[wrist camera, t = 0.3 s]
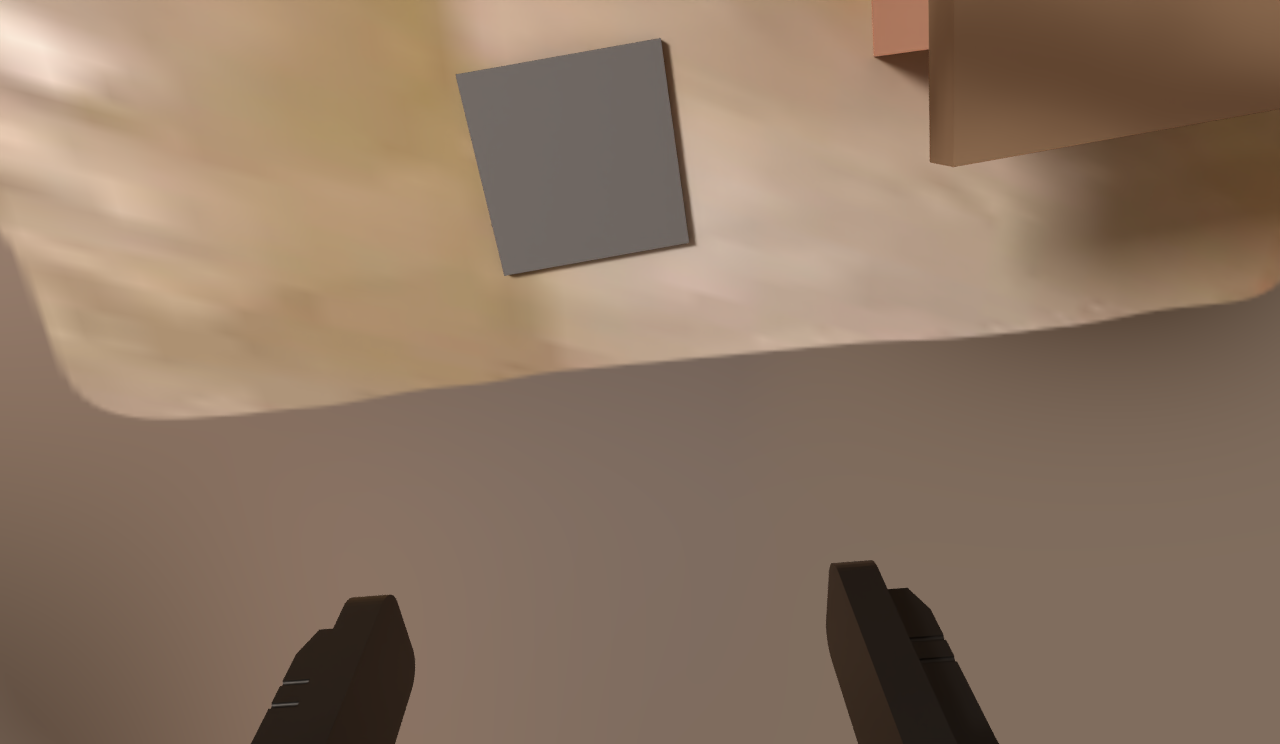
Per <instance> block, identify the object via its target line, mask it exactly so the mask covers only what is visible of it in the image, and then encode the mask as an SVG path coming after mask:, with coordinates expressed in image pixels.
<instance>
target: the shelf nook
mask: <svg viewBox="0 0 1280 744" xmlns="http://www.w3.org/2000/svg"><path fill="white" fill-rule="evenodd" d="M928 2H929V118H930V162H931V163H936V164H941V165H946V166H951V167H956V166H962V165H968V164H973V163H979V162H984V161H990V160H996V159H1001V158H1007V157H1012V156H1018V155H1024V154H1029V153H1035V152H1041V151H1046V150H1052V149H1057V148H1063V147H1069V146H1074V145H1080V144H1086V143H1091V142H1097V141H1102V140H1108V139H1114V138H1119V137H1125V136H1130V135H1136V134H1142V133H1147V132H1153V131H1159V130H1164V129H1170V128H1175V127H1181V126H1187V125H1192V124H1198V123H1203V122H1209V121H1215V120H1220V119H1226V118H1232V117H1237V116H1243V115H1248V114H1254V113H1260V112H1265V111H1271V110H1277V109H1280V0H928Z"/></svg>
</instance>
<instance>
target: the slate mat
mask: <svg viewBox="0 0 1280 744" xmlns="http://www.w3.org/2000/svg"><path fill="white" fill-rule="evenodd" d="M456 79H457V83H458V87H459V91H460V95H461V99H462V103H463V107H464V112H465V116H466V120H467V124H468V128H469V132H470V136H471V140H472V144H473V149H474V153H475V157H476V161H477V165H478V169H479V173H480V177H481V181H482V186H483V190H484V194H485V198H486V202H487V206H488V210H489V214H490V219H491V223H492V227H493V231H494V235H495V239H496V243H497V247H498V251H499V256H500V260H501V264H502V268H503V272H504V276H506V275H511V274H517V273H522V272H528V271H534V270H539V269H545V268H551V267H556V266H562V265H567V264H573V263H579V262H584V261H590V260H596V259H601V258H607V257H612V256H618V255H624V254H629V253H635V252H640V251H646V250H652V249H657V248H663V247H669V246H674V245H680V244H685V243H689V238H688V231H687V224H686V217H685V210H684V202H683V195H682V188H681V181H680V174H679V166H678V159H677V152H676V145H675V138H674V130H673V123H672V116H671V109H670V102H669V94H668V87H667V80H666V73H665V66H664V58H663V51H662V44H661V38H659V39H653V40H647V41H642V42H636V43H631V44H625V45H619V46H614V47H608V48H602V49H597V50H591V51H586V52H580V53H574V54H569V55H563V56H557V57H552V58H546V59H541V60H535V61H529V62H524V63H518V64H513V65H507V66H501V67H496V68H490V69H484V70H479V71H473V72H468V73H462V74H456Z"/></svg>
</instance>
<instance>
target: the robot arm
mask: <svg viewBox="0 0 1280 744" xmlns="http://www.w3.org/2000/svg"><path fill="white" fill-rule="evenodd" d="M826 632H827V640H828V646H829V651H830V656H831V659H832V662H833V665H834V669H835V672H836V675H837V678H838V681H839V685H840V687H841V691H842V694H843V697H844V700H845V703H846V707H847V710H848V713H849V716H850V719H851V722H852V725H853V729H854V732H855V735H856V738H857V741H858V744H999V743H998V741H997V740H996V738H995V736H994V734H993V732H992V730H991V728H990V726H989V724H988V722H987V720H986V718H985V716H984V714H983V712H982V710H981V708H980V706H979V704H978V703H977V700H976V698H975V696H974V694H973V692H972V690H971V688H970V686H969V684H968V682H967V680H966V678H965V676H964V675H963V672H962V671H961V669H960V667H959V665H958V663H957V662H955V659H954V655H953V653H952V651H951V649H950V647H949V645H948V643H947V641H946V640H944V637H943V633H942V631H941V629H940V627H939V625H938V623H937V621H936V620H935V617H934V615H933V613H932V611H931V609H930V608H928V607H927V606H926V605H925V604H924V603H923V602H922V601H921V600H920V599H919V598H918V597H917V596H916V595H915V594H913V593H912V592H911V591H910V590H909V589H908V588H900V589H887V587H886V585H885V583H884V580H883V578H882V576H881V574H880V572H879V569H878V567H877V565H876V564H875V563H874V561H872V560H869V561H855V562H842V563H831V565H830V569H829V582H828V598H827V615H826ZM414 675H415V658H414V652H413V648H412V645H411V642H410V639H409V636H408V633H407V630H406V627H405V624H404V621H403V618H402V615H401V612H400V609H399V606H398V603H397V600H396V598H395V597H394V596H393V595H380V596H367V597H353V598H350V599H349V600H347V602H346V603H345V605H344V607H343V609H342V611H341V613H340V615H339V617H338V619H337V622H336V624H335V626H334V628H333V629H323V630H319V631H318V632H317V633H316V634H315V635H314V636H313V637H312V638H311V639H310V641H308V642H307V643H306V644H305V646H304V647H303V648H302V649H301V650H300V651H299V652H298V653H297V654H296V656H295V658H294V660H293V662H292V664H291V666H290V668H289V670H288V672H287V673H286V676H285V677H284V679H283V685H282V686H280V687H279V689H278V691H277V693H276V695H275V697H274V699H273V702H272V707H271V709H268V711H267V713H266V715H265V717H264V719H263V721H262V723H261V725H260V727H259V729H258V731H257V733H256V735H255V737H254V739H253V741H252V743H251V744H395V742H396V738H397V735H398V732H399V729H400V726H401V722H402V719H403V716H404V713H405V710H406V706H407V703H408V700H409V697H410V693H411V690H412V687H413V682H414Z"/></svg>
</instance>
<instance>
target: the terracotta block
mask: <svg viewBox="0 0 1280 744" xmlns="http://www.w3.org/2000/svg"><path fill="white" fill-rule="evenodd" d="M872 21H873V49H874V57H875V56H883V55H890V54H897V53H905V52H912V51H919V50H927V49H929V2H928V0H872Z"/></svg>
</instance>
